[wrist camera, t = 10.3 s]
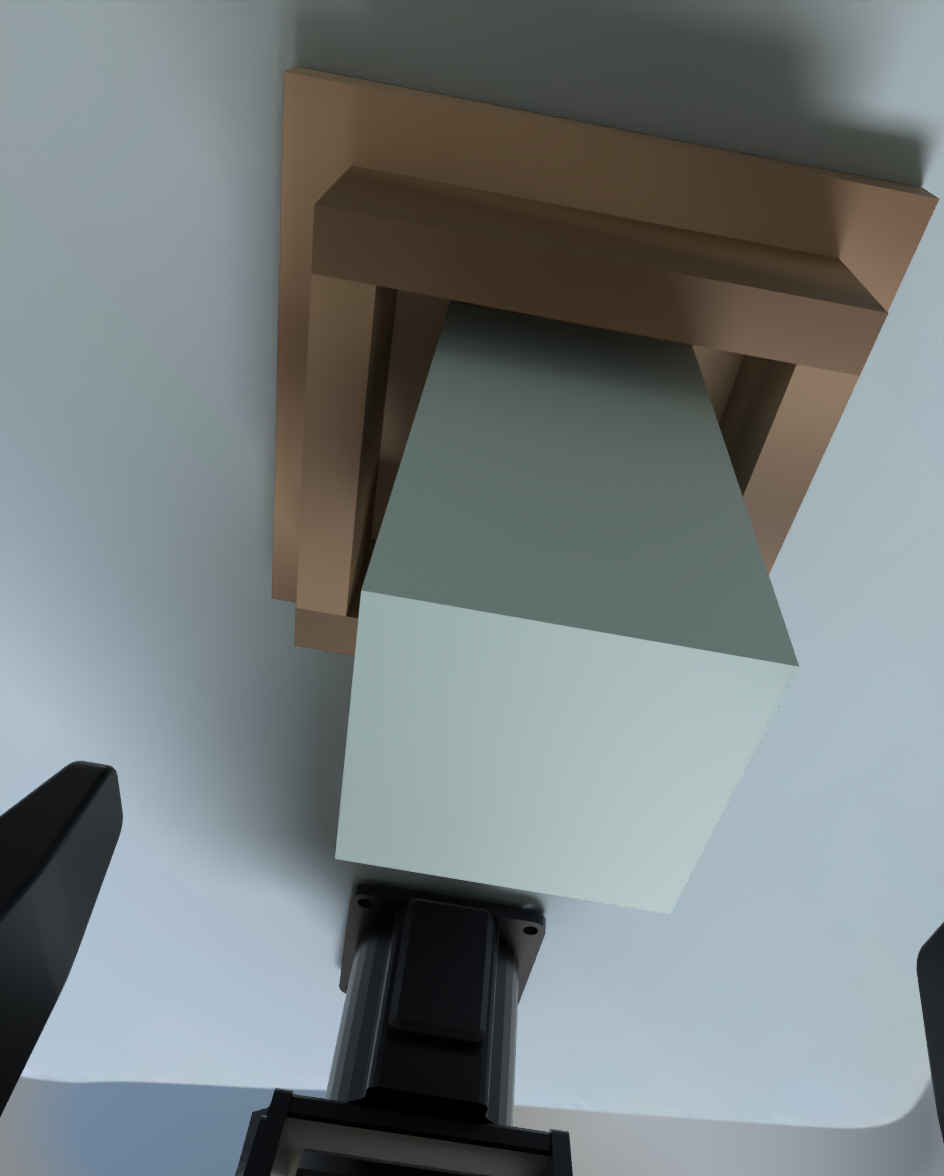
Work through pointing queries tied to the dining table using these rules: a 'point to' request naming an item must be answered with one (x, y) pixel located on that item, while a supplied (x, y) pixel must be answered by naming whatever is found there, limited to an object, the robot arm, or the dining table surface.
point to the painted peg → (559, 622)
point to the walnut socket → (548, 294)
